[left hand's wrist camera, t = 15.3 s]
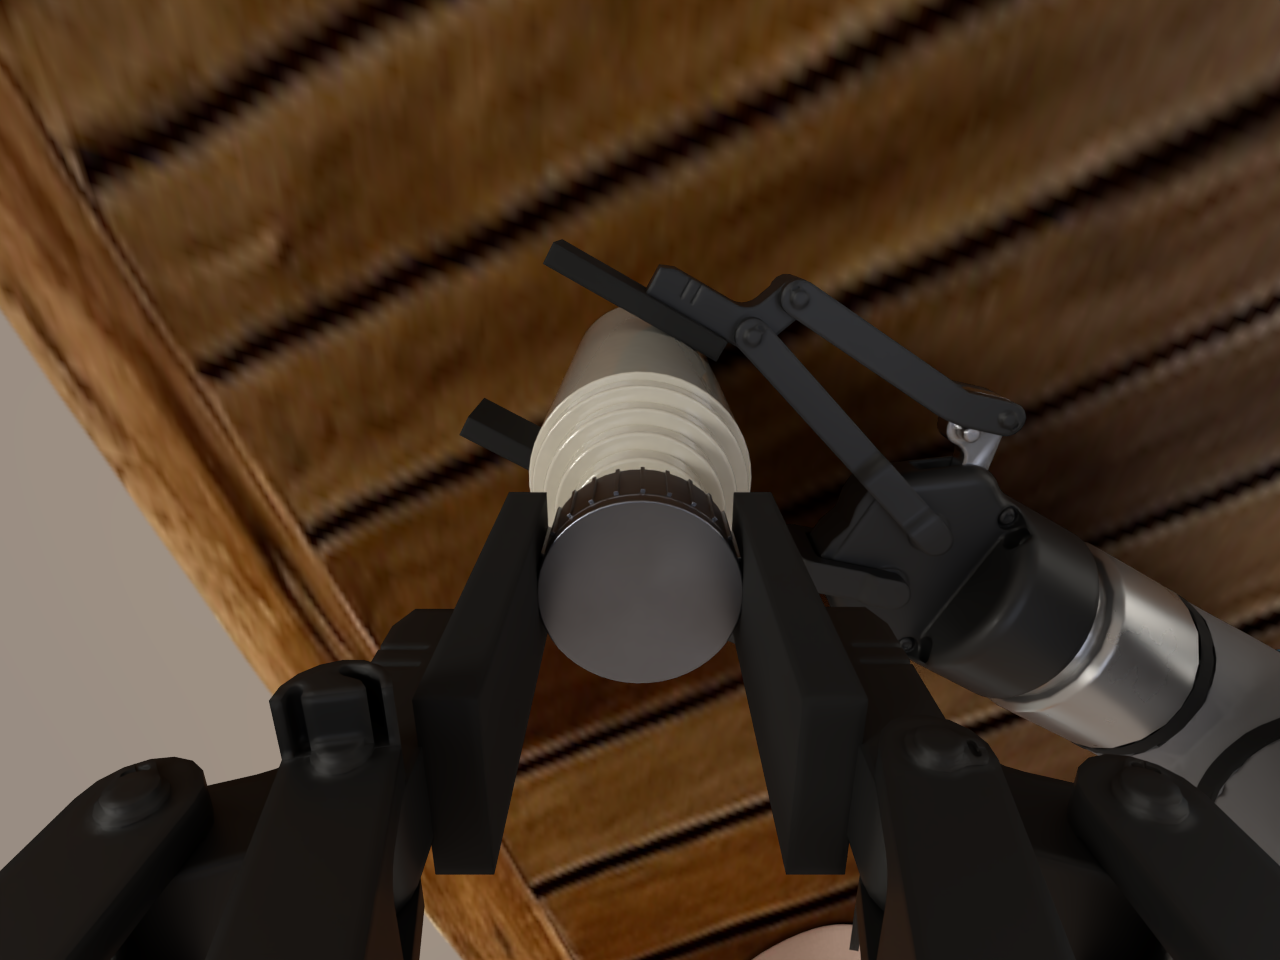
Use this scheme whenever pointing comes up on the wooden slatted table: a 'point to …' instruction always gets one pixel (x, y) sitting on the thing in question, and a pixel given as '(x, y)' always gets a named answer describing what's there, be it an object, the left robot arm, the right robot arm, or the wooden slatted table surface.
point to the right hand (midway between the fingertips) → (512, 337)
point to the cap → (640, 577)
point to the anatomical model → (815, 945)
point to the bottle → (638, 416)
